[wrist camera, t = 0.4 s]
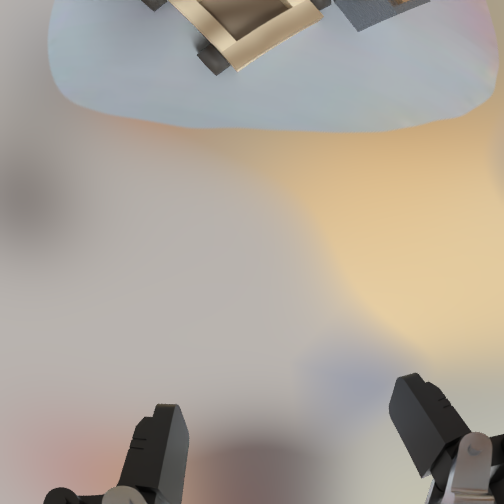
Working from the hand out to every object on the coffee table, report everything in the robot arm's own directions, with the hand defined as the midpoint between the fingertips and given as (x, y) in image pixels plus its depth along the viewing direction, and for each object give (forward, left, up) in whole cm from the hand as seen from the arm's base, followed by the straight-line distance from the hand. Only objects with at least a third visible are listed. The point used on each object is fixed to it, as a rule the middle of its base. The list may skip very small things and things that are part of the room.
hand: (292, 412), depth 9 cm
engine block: (-10, +22, -28) cm, 37 cm away
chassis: (-19, +11, -28) cm, 35 cm away
